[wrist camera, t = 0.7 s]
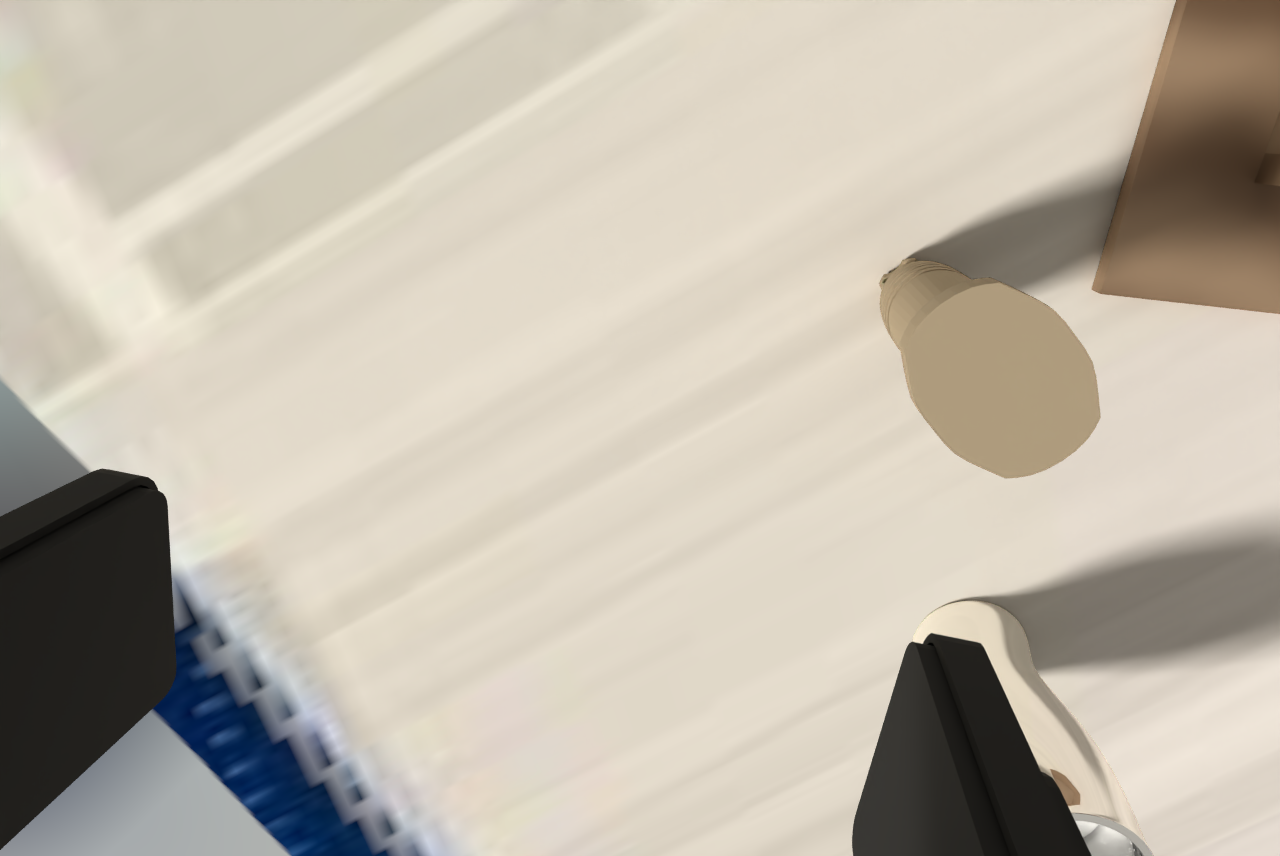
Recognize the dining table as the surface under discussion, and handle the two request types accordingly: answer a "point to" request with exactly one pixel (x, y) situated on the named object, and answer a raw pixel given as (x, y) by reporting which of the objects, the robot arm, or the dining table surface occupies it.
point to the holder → (1205, 166)
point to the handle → (990, 368)
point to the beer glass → (1047, 727)
